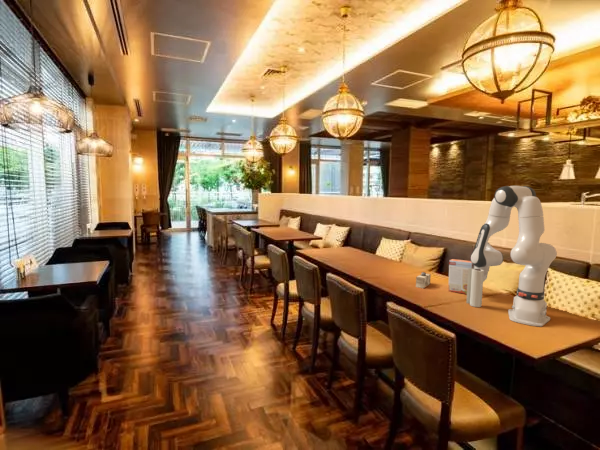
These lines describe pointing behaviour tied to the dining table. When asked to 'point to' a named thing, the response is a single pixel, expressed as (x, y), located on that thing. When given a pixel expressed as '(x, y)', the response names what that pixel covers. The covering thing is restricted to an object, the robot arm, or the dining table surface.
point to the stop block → (423, 280)
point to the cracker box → (459, 275)
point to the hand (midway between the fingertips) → (479, 289)
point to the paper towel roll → (475, 287)
